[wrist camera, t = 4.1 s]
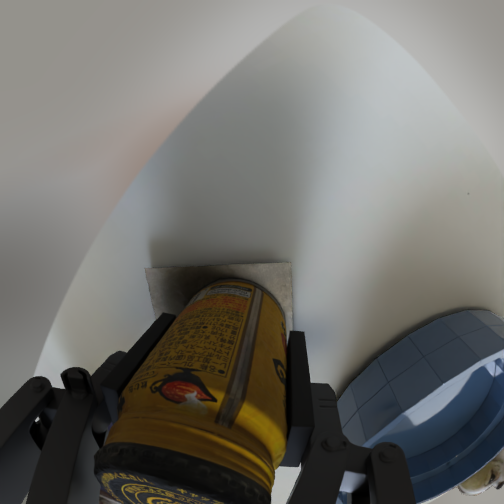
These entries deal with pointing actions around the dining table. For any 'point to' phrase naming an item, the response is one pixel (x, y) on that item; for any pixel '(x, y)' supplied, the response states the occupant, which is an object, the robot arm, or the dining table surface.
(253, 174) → the dining table surface
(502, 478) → the ceramic sculpture
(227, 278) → the condiment
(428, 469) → the basin
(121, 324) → the dining table surface
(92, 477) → the robot arm
